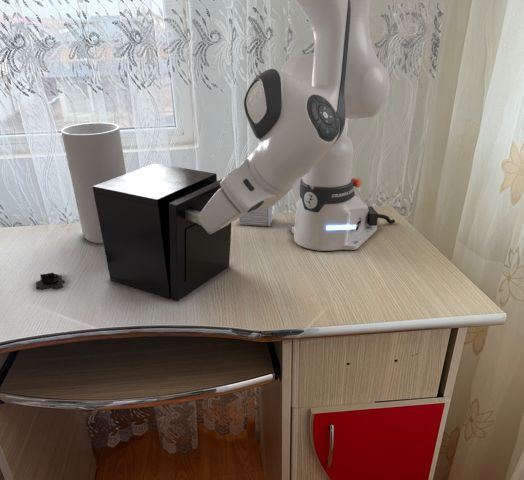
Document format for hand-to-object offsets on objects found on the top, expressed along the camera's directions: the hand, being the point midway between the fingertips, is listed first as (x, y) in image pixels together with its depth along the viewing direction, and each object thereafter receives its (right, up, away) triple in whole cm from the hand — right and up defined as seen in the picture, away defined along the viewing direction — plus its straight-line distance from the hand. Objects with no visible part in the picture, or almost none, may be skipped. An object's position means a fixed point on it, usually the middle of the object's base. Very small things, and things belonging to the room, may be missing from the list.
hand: (219, 224), depth 102 cm
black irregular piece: (-36, -10, +11) cm, 39 cm away
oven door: (-3, -10, +9) cm, 14 cm away
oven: (-12, -7, +14) cm, 20 cm away
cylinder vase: (-30, +5, +33) cm, 45 cm away
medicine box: (+6, +9, +38) cm, 39 cm away
